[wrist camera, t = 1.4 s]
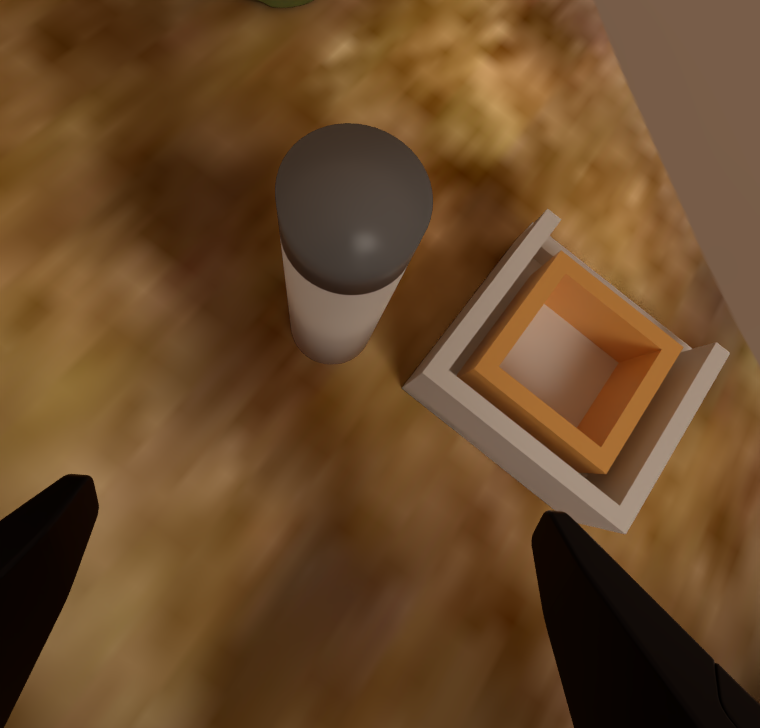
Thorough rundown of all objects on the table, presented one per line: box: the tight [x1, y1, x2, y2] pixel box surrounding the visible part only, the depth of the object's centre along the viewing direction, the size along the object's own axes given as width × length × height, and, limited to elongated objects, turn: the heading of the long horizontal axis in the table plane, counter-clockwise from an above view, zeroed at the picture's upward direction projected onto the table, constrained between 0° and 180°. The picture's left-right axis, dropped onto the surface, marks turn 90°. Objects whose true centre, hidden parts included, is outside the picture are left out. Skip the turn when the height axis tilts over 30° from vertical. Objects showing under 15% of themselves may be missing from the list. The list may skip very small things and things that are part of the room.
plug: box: [275, 123, 433, 364], centre depth 18 cm, size 4×4×12 cm
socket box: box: [402, 209, 730, 534], centre depth 23 cm, size 11×11×4 cm
